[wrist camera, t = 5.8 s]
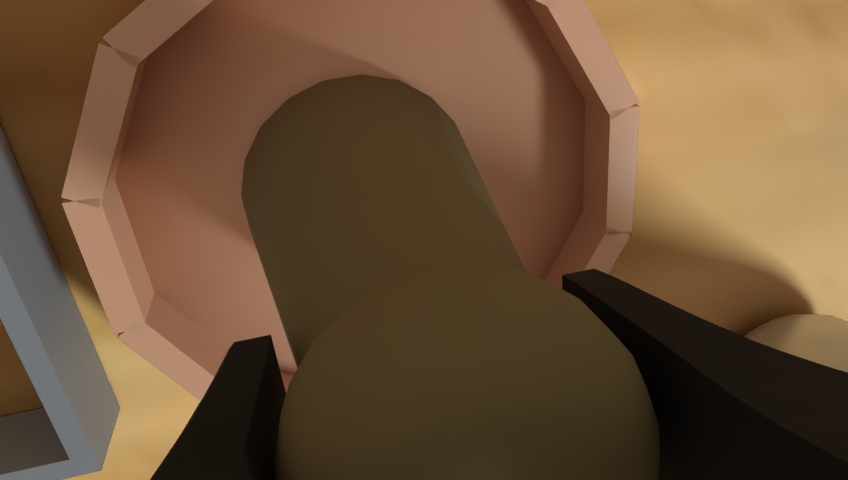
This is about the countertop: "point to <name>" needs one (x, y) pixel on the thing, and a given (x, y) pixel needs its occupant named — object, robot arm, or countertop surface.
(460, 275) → the olive rounded piece
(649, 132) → the countertop surface
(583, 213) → the dish
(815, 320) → the plastic bottle
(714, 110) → the countertop surface
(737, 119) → the countertop surface
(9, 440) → the parts tray
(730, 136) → the countertop surface
